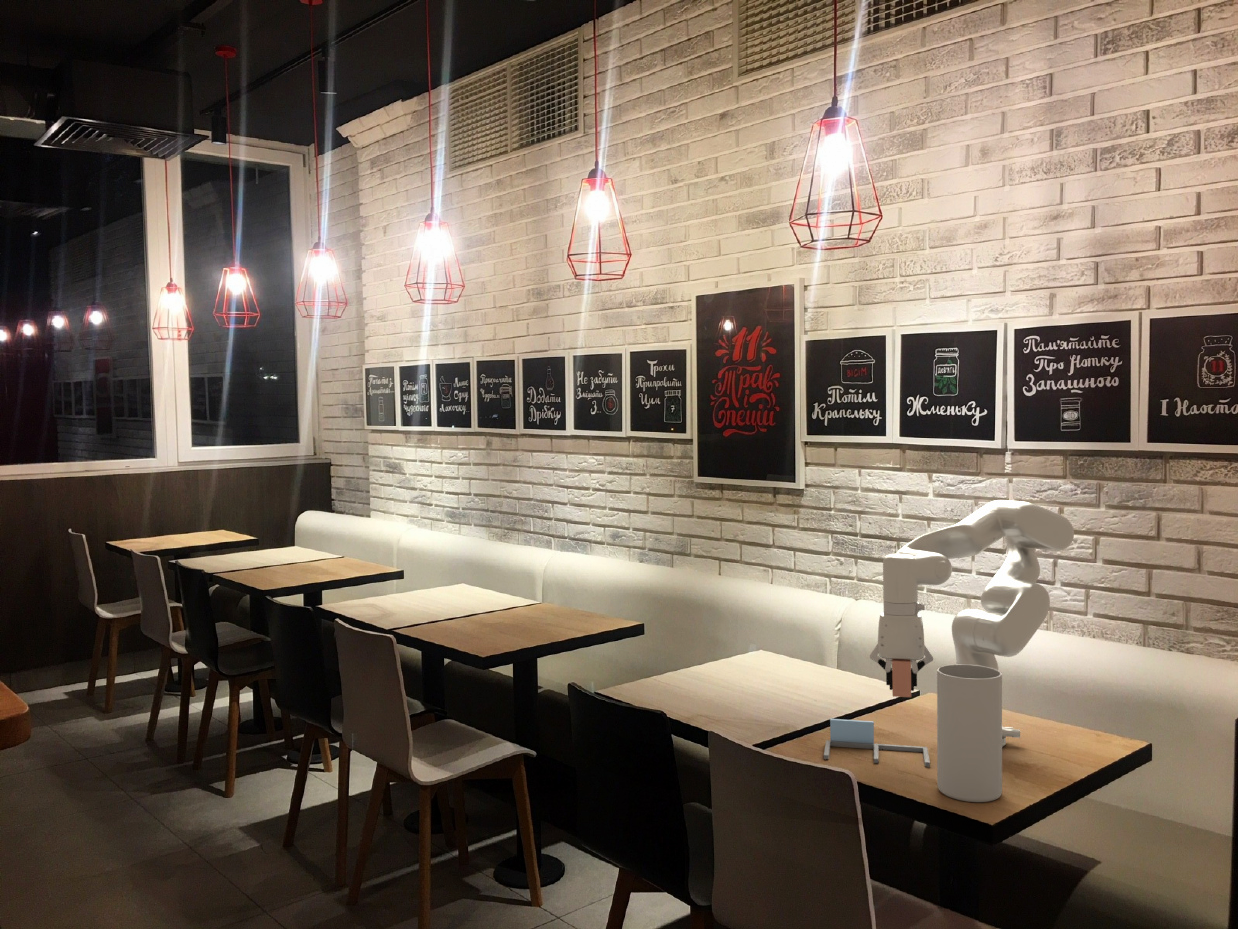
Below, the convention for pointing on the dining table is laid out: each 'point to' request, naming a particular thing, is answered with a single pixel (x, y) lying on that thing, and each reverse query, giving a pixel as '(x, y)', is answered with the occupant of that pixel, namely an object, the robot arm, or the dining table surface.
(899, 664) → the plug block
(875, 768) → the dining table surface
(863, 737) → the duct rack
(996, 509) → the robot arm
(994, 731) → the cylinder vase
